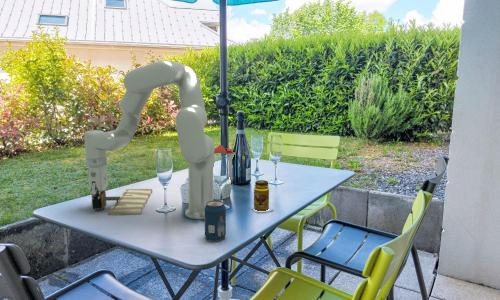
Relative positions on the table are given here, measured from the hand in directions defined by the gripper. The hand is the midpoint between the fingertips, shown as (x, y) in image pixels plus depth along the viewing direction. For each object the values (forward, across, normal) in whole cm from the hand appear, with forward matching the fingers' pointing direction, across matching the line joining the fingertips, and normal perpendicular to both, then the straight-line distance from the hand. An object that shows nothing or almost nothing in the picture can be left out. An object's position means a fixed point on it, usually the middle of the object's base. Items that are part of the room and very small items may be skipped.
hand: (99, 205), depth 148 cm
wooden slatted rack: (+2, +8, -11) cm, 14 cm away
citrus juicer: (+2, +36, -49) cm, 61 cm away
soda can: (+2, -32, -46) cm, 56 cm away
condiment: (+2, -5, -65) cm, 65 cm away
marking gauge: (+1, 0, -3) cm, 3 cm away
